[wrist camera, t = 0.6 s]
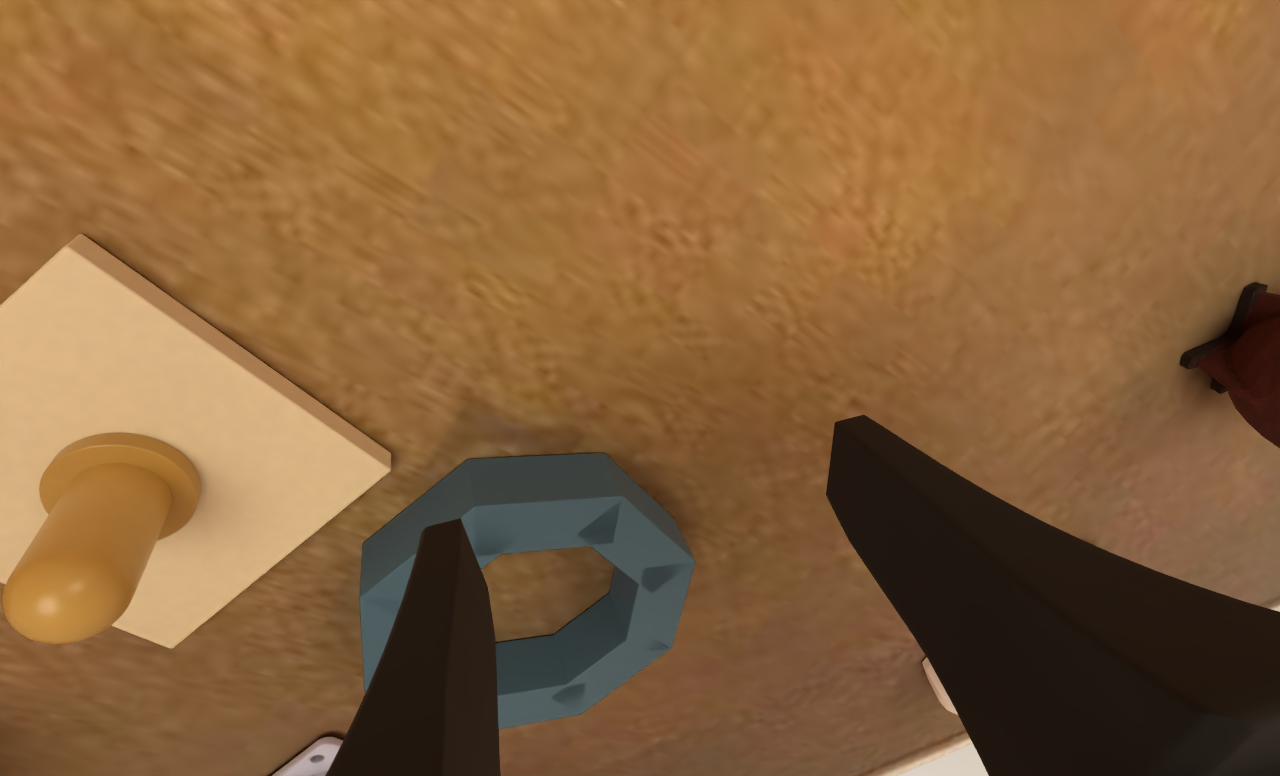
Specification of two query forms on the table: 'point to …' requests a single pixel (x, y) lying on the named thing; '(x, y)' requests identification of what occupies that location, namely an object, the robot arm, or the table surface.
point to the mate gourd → (1248, 361)
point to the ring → (534, 521)
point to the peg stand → (149, 458)
